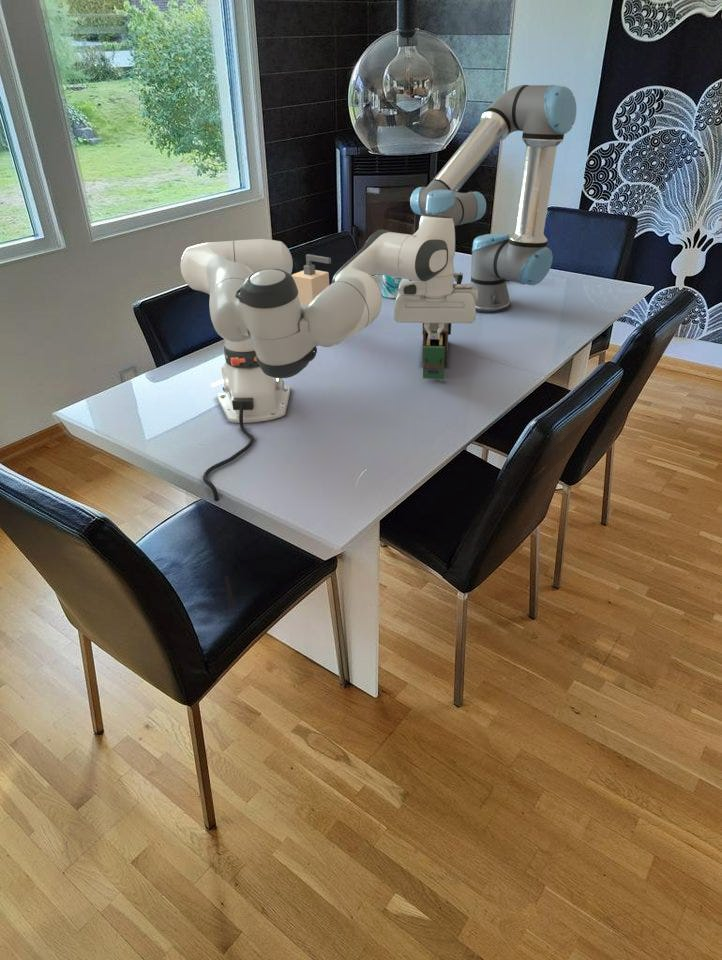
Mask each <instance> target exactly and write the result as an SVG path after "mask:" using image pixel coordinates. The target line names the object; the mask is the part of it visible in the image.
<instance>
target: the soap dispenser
mask: <svg viewBox="0 0 722 960" xmlns="http://www.w3.org/2000/svg"><path fill="white" fill-rule="evenodd" d="M305 262H306V263H305V265H303V270H300V271H298V272H295V273H292V274H291V275H292V277H293V279H294V281H295V283H296V286H297V289H298V298H299V301H300V305H301V306H303V305H307V304H309V303H310V302H311V301H312V300H313V299H314V298H315V297H316V296H317V295H318V294H319V293H320V292H322V291H323V290H324V289H325V288H327V287H328V286H329V285H330V273H329V271H325V270H324V271H323V270H318V269H316V265H315V264H313V263H312V262H317V263H321V264H326V265H327V264H328V265H329V264H332V258H331V257H327V256H322V255H315V254H309V253H307V254H305Z"/></svg>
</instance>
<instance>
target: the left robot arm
mask: <svg viewBox="0 0 722 960" xmlns="http://www.w3.org/2000/svg"><path fill="white" fill-rule="evenodd" d="M455 255H456V228H455V226H454V222H453V219H452V218H451V217H450V216H448V215H440V214H424V215H420V218H419V223H418V229H417V230H416V231H415V232H414V233H413V234H408V233H400V232H394V231H391V230H387V229H382V228H381V229H377V230H375V231H374V232H373V233H372V234H371V235H370V236H369V237H368V239H367V240H366V241H365V242H364V244H363V245H362V247H361V248H360V249H359V250H358V251H357V252H356V253H355V254H354V255H353V256H351V257H350V258H349V259H348V260H347V261H346V262H345V263H344V264H343V265H342V266H341V267H340V268H339V269H338V270H337V271H336V272H335V273H334V275H333V277H332V279H331V283H330V284H329V286H328V287H327V288H325V289H324V290H323V291H322V292H320V293H319V294H318V295H317V296H316V297H315V298H314V299H313V300H312V301H311V302H310V303H309V304H307V305H303V306H301V305H300V301H299V298H298V289H297V286H296V283H295V281H294V279H293V277H292V275H293V274H292V272H293V269H294V268H293V267H294V265H293V264H294V263H293V262H294V261H293V257H292V254H291V251H290V249H289V247H288V246H287V245H286V244H285V243H284V242H283V241H281V240H275V239H269V238H254V239H253V238H252V239H238V240H226V241H223V240H222V241H210V242H204V243H199V244H195V245H192V246H188V247H187V248H186V249H185V250H184V251H183V253H182V256H181V259H180V266H179V267H180V273H181V276H182V279H183V280H184V281H185V283H186V284H187V286H188V287H189V288H191V289H192V290H194V291H198V292H202V293H205V294H208V295H209V301H208V302H209V304H208V306H209V316H210V321H211V323H212V326H213V329H214V331H215V332H216V333H217V335H218V336H219V337H221V338H222V339H223V340H224V345H223V355H224V359H225V363H224V364H223V365H222V366H221V367H220V369H221V377H222V379H220V380H218V381H216V382H213V383H211V387H212V388H213V387H216V386H219V385H220V384H223V386H222V392H219V393H218V394H217V401H218V403H219V404H220V405H219V406H220V407H221V409H222V411H223V413H224V415H225V418H226V419H227V421H228V422H229V423H235V424H236V423H237V424H239V428H240V430H241V432H242V433H243V434H244V435H245V436H246V437H247V438H248V439H249V442H248V443H247V444H246V445H245V446H244V447H242V448H241V449H240V450H239V451H237V452H236V453H234V454H233V455H231V456H230V457H228V458H225V459H224V460H221V461H219V462H217V463H215V464H213V465H211V466H210V467H208V468H207V469H206V470H205V471H204V473H203V475H202V480H203V482H204V483H205V484H206V485H207V486H208V487H209V488H210V489H211V492H212V494H213V498H214V499H213V500H214V501H215V502H218V501H219V500H220V499H219V493H218V490H217V488H216V486H215V485H214V484H213V482H212V481H211V480H210V479H208V476H209V475H210V473H211V472H212V471H214V470H216V469H218V468H220V467H223V466H224V465H227V464H228V463H230V462H232V461H234V460H236V459H237V458H238V457H240V456H241V455H243V454H244V453H245V452H247V451H248V450H249V449H250V448H251V447H252V446H253V444H254V441H255V440H254V439H255V438H254V436H253V435H252V434H250V433H249V432H248V431H247V430H246V429H245V426H244V424H249V423H258V422H266V421H272V420H276V419H279V418H283V417H284V416H285V415H286V413H287V409H288V405H289V399H290V396H291V392H292V391H291V387H290V386H288V385H285V381H284V380H282V379H287V378H292V377H294V376H296V375H298V374H300V373H301V372H302V371H303V370H304V369H305V368H307V366H308V365H309V364H310V363H311V362H312V361H313V360H314V359H315V358H316V356H317V354H318V347H322V348H331V347H334V346H336V345H339V344H341V343H344V342H346V341H347V340H349V339H351V338H353V337H354V336H356V335H358V334H359V333H360V332H362V331H363V330H364V329H366V328H367V327H368V326H370V325H371V324H372V323H373V322H374V321H375V320H376V319H377V318H378V317H379V315H380V313H381V310H382V307H383V306H382V305H383V297H382V296H383V295H382V292H381V289H380V286H379V285H378V283H377V281H376V280H375V279H374V278H373V276H383V275H385V276H391V277H397V278H403V279H402V280H401V282H400V284H399V292H398V294H397V297H396V298H395V300H394V306H393V320H394V322H395V323H398V324H399V323H400V324H401V323H403V324H407V323H408V324H413V323H414V324H423V323H424V328H425V330H426V331H427V333H428V339H429V340H430V339H434V340H440V333H441V332H442V330H443V328H444V325H445V323H451V324H473V323H474V322H475V321H476V316H477V311H476V307H475V302H476V301H477V300H478V293H479V292H478V289H477V288H476V287H475V286H473V285H472V284H470V283H467V284H462V283H461V284H457V283H455V278H454V272H455V268H454V258H455ZM472 288H475V289H472ZM430 323H439V329H438V331H431V330H430V328H429V326H430ZM223 578H224V582H225V587H226V592H227V597H228V603H229V607H230V609H231V608H232V609H233V608H234V609H235V605H234V598H233V594H232V589H231V583H230V577H229V575H225V576H224V577H223Z"/></svg>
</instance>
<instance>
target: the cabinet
mask: <svg viewBox="0 0 722 960" xmlns="http://www.w3.org/2000/svg"><path fill="white" fill-rule="evenodd" d="M448 325H449V323H445V325H444V328H443V330H442V332H441V333H443V346H445V354H444V368H446V367H447V366H448V350H449V349H448V346H449V335H448ZM429 328H430V330H431V331H438V329H439V323H430V326H429ZM427 337H428V333H427V331H426V330H425V328H423V327H422V348H423V347H424V346H426V345H427ZM422 367H423V364H422Z"/></svg>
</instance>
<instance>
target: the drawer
mask: <svg viewBox="0 0 722 960" xmlns="http://www.w3.org/2000/svg"><path fill="white" fill-rule="evenodd" d="M444 354H445V346H443V333H440V340H434V339H430V340H429V339H428V337H427V345H426V346H424V347H423V346H422V365H423V366H422V379H434V380H435V379H436V380H437V379H438V380H443V379H445V378H444V377H445V367H444Z"/></svg>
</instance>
